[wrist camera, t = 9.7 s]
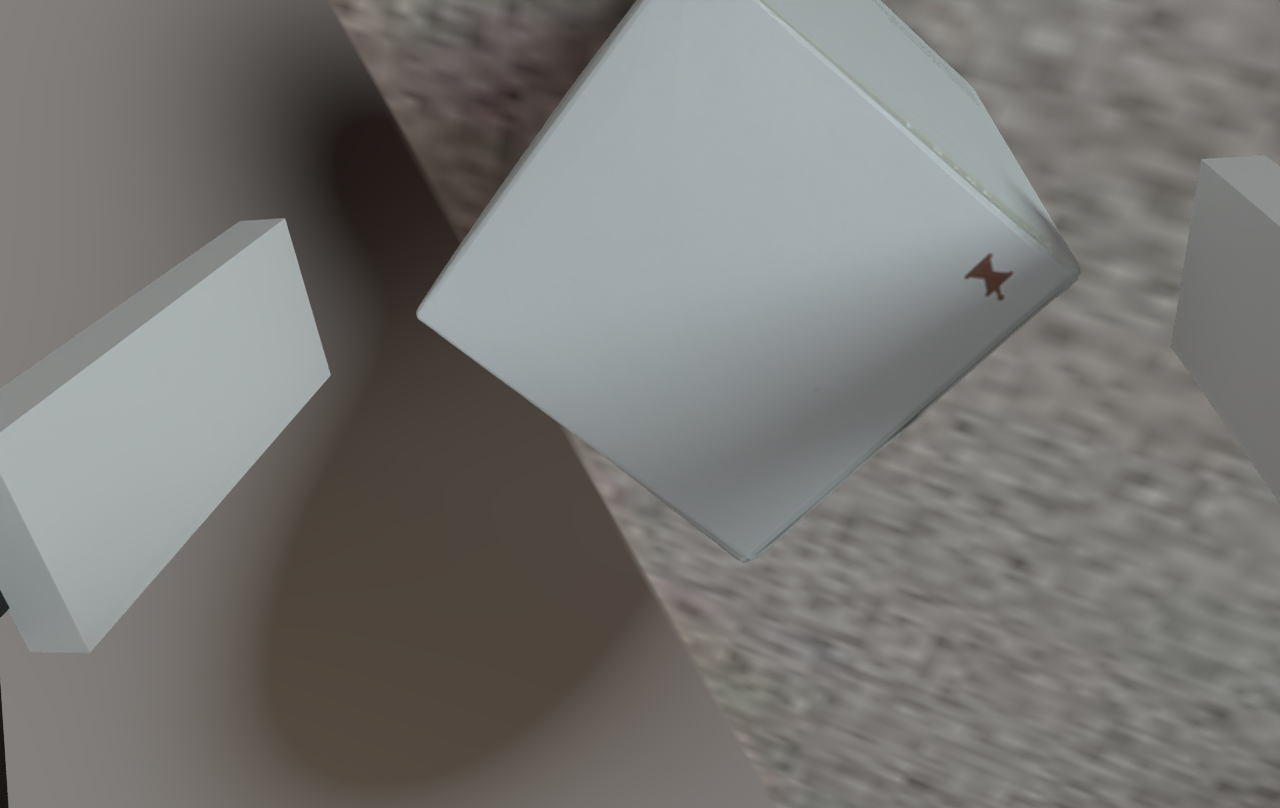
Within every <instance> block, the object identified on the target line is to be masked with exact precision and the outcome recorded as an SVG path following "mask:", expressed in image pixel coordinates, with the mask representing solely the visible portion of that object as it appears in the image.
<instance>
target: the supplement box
mask: <svg viewBox="0 0 1280 808" xmlns="http://www.w3.org/2000/svg"><path fill="white" fill-rule="evenodd" d="M1079 275H1080V267H1079V264H1078V262H1077V260H1076V258H1075V257H1074V255H1073V254H1072V252H1071V251H1070V249H1069V248H1068V246H1067V244H1066V243H1065V241H1064V239H1063V238H1062V236H1061V235H1060V233H1059V231H1058V229H1057V228H1056V226H1055V224H1054V223H1053V221H1052V219H1051V218H1050V216H1049V214H1048V213H1047V211H1046V209H1045V208H1044V206H1043V204H1042V203H1041V201H1040V199H1039V198H1038V196H1037V194H1036V193H1035V191H1034V189H1033V188H1032V186H1031V184H1030V183H1029V181H1028V179H1027V178H1026V176H1025V174H1024V172H1023V171H1022V169H1021V167H1020V166H1019V164H1018V162H1017V161H1016V159H1015V157H1014V156H1013V154H1012V152H1011V151H1010V149H1009V147H1008V146H1007V144H1006V142H1005V141H1004V139H1003V137H1002V136H1001V134H1000V132H999V131H998V129H997V127H996V126H995V124H994V122H993V120H992V119H991V117H990V115H989V114H988V112H987V110H986V109H985V107H984V105H983V104H982V102H981V100H980V98H979V97H978V95H977V93H976V92H975V90H974V89H973V87H972V86H971V85H970V84H969V83H968V82H967V81H966V80H965V79H964V78H962V77H961V76H960V75H959V74H958V73H957V72H956V71H955V70H954V69H953V68H952V67H951V66H950V65H949V64H947V63H946V62H945V61H944V60H943V59H942V58H941V57H940V56H939V55H938V54H937V53H936V52H935V51H934V50H932V49H931V48H930V47H929V46H928V45H927V44H926V43H925V42H924V41H923V40H922V39H921V38H920V37H919V36H918V35H917V34H916V33H915V32H913V31H912V30H911V29H910V28H909V27H908V26H907V25H906V24H905V23H904V22H903V21H902V20H901V19H900V18H899V17H898V16H896V15H895V14H894V13H893V12H892V11H891V10H890V9H889V8H888V7H887V6H886V5H885V4H884V3H883V2H882V1H881V0H636V2H635V3H634V4H633V6H632V7H631V8H630V9H629V11H628V12H627V13H626V15H625V16H624V17H623V19H622V20H621V21H620V23H619V24H618V25H617V26H616V28H615V29H614V30H613V32H612V33H611V34H610V36H609V37H608V38H607V39H606V41H605V42H604V43H603V45H602V46H601V47H600V49H599V50H598V51H597V53H596V54H595V55H594V57H593V58H592V59H591V61H590V62H589V63H588V65H587V66H586V67H585V69H584V70H583V71H582V73H581V74H580V75H579V77H578V78H577V80H576V81H575V82H574V84H573V85H572V86H571V88H570V89H569V90H568V92H567V93H566V94H565V96H564V97H563V98H562V100H561V101H560V102H559V104H558V105H557V107H556V108H555V109H554V111H553V112H552V114H551V115H550V116H549V118H548V119H547V121H546V122H545V124H544V125H543V126H542V128H541V129H540V131H539V132H538V133H537V135H536V136H535V138H534V139H533V140H532V142H531V143H530V145H529V146H528V147H527V149H526V150H525V152H524V153H523V155H522V156H521V157H520V159H519V160H518V162H517V163H516V165H515V166H514V167H513V169H512V170H511V172H510V173H509V175H508V176H507V177H506V179H505V180H504V182H503V183H502V185H501V186H500V187H499V189H498V190H497V192H496V193H495V195H494V196H493V197H492V199H491V200H490V202H489V203H488V205H487V206H486V207H485V209H484V210H483V212H482V213H481V215H480V216H479V218H478V219H477V220H476V222H475V223H474V225H473V226H472V228H471V229H470V231H469V232H468V234H467V235H466V237H465V238H464V239H463V241H462V242H461V244H460V245H459V247H458V248H457V250H456V251H455V253H454V254H453V256H452V257H451V259H450V260H449V262H448V263H447V265H446V266H445V267H444V269H443V271H442V272H441V273H440V275H439V276H438V278H437V279H436V281H435V283H434V284H433V286H432V287H431V289H430V290H429V291H428V293H427V294H426V296H425V297H424V299H423V300H422V302H421V304H420V305H419V307H418V309H417V311H416V315H417V318H418V319H419V320H420V321H421V322H423V323H424V324H426V325H427V326H428V327H430V328H431V329H433V330H434V331H435V332H437V333H438V334H439V335H441V336H442V337H443V338H445V339H446V340H448V341H449V342H450V343H451V344H453V345H454V346H455V347H457V348H458V349H460V350H461V351H462V352H463V353H465V354H466V355H468V356H469V357H471V358H472V359H473V360H474V361H476V362H477V363H478V364H480V365H481V366H482V367H484V368H485V369H486V370H488V371H489V372H491V373H492V374H493V375H494V376H496V377H497V378H499V379H500V380H501V381H503V382H504V383H505V384H507V385H508V386H509V387H511V388H512V389H514V390H515V391H517V392H518V393H519V394H520V395H522V396H523V397H525V398H526V399H527V400H529V401H530V402H531V403H533V404H534V405H535V406H537V407H538V408H539V409H541V410H542V411H543V412H545V413H546V414H547V415H549V416H550V417H551V418H553V419H554V420H555V421H557V422H558V423H560V424H561V425H562V426H564V427H565V428H566V429H568V430H569V431H570V432H572V433H573V434H574V435H576V436H577V437H579V438H580V439H581V440H583V441H584V442H585V443H587V444H588V445H589V446H591V447H592V448H594V449H595V450H596V451H598V452H599V453H601V454H602V455H603V456H605V457H606V458H607V459H609V460H610V461H611V462H612V463H614V464H615V465H616V466H617V467H619V468H620V469H621V470H623V471H624V472H625V473H626V474H628V475H629V476H630V477H632V478H633V479H634V480H635V481H637V482H638V483H639V484H641V485H642V486H643V487H644V488H646V489H647V490H648V491H650V492H651V493H652V494H653V495H655V496H656V497H657V498H659V499H660V500H661V501H662V502H664V503H665V504H666V505H667V506H669V507H670V508H671V509H673V510H674V511H675V512H676V513H678V514H679V515H680V516H682V517H683V518H684V519H686V520H687V521H688V522H689V523H691V524H692V525H693V526H695V527H696V528H697V529H699V530H700V531H701V532H703V533H704V534H705V535H706V536H708V537H709V538H710V539H712V540H713V541H714V542H716V543H717V544H718V545H719V546H721V547H722V548H723V549H724V550H726V551H727V552H728V553H729V554H731V555H732V556H733V557H734V558H736V559H738V560H740V561H742V562H748V561H750V560H753V559H755V558H757V557H759V556H760V555H761V554H763V553H764V552H765V551H766V550H767V549H768V548H769V547H770V546H771V545H773V544H774V543H775V542H776V541H777V540H779V539H780V538H781V537H782V536H783V535H785V534H786V533H787V532H788V531H789V530H790V529H791V528H792V527H793V526H795V525H796V524H797V523H798V522H799V521H800V520H801V519H802V518H803V517H804V516H805V515H807V514H808V513H809V512H810V511H811V510H812V509H814V508H815V507H816V506H817V505H818V504H819V503H821V502H822V501H823V500H824V499H825V498H826V497H827V496H829V495H830V494H831V493H832V492H833V491H834V490H836V489H837V488H838V487H839V486H840V485H841V484H842V483H844V482H845V481H846V480H847V479H848V478H849V477H850V476H851V475H853V474H854V473H855V472H856V471H857V470H858V469H859V468H861V467H862V466H863V465H864V464H865V463H866V462H867V461H869V460H870V459H871V458H872V457H873V456H874V455H876V454H877V453H878V452H879V451H880V450H882V449H883V448H884V447H885V446H886V445H888V444H889V443H890V442H891V441H893V440H894V439H895V438H896V437H898V436H900V435H901V434H902V433H903V432H904V431H905V430H906V429H907V428H909V427H910V426H911V425H912V424H913V423H915V422H916V421H917V420H918V419H919V418H920V417H921V416H922V415H923V414H924V412H925V411H926V410H927V409H928V408H930V407H931V406H932V405H933V404H934V403H935V402H936V401H937V400H938V399H940V398H941V397H942V396H943V395H944V394H945V393H947V392H948V391H949V390H950V389H951V388H952V387H954V386H955V385H956V384H957V383H958V382H959V381H960V380H961V379H963V378H964V377H965V376H966V375H967V374H968V373H969V372H971V371H972V370H973V369H974V368H975V367H976V366H977V365H979V364H980V363H981V362H982V361H983V360H984V359H985V358H987V357H988V356H989V355H990V354H991V353H992V352H993V351H995V350H996V349H997V348H998V347H999V346H1000V345H1002V344H1003V343H1004V342H1005V341H1006V340H1007V339H1008V338H1010V337H1011V336H1012V335H1013V334H1014V333H1015V332H1017V331H1018V330H1019V329H1020V328H1021V327H1022V326H1023V325H1025V324H1026V323H1027V322H1028V321H1029V320H1030V319H1031V318H1033V317H1034V316H1035V315H1036V314H1037V313H1038V312H1040V311H1041V310H1042V309H1043V308H1044V307H1045V306H1047V305H1048V304H1049V303H1050V302H1051V301H1052V300H1054V299H1055V298H1056V297H1058V296H1059V295H1060V294H1062V293H1063V292H1064V291H1066V290H1067V289H1068V288H1069V287H1070V286H1071V285H1072V284H1073V283H1074V282H1075V281H1076V280H1077V279H1078V277H1079Z"/></svg>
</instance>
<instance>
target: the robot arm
mask: <svg viewBox="0 0 1280 808" xmlns="http://www.w3.org/2000/svg"><path fill="white" fill-rule="evenodd" d="M1171 347H1172V349H1173V350H1174V352H1175V353H1176V354H1177V356H1178V357H1179V359H1180V360H1181V362H1182V363H1183V365H1184V366H1185V367H1186V369H1187V370H1188V372H1189V373H1190V375H1191V376H1192V378H1193V379H1194V380H1195V382H1196V383H1197V385H1198V386H1199V388H1200V389H1201V390H1202V392H1203V393H1204V395H1205V396H1206V398H1207V399H1208V401H1209V402H1210V403H1211V405H1212V406H1213V408H1214V409H1215V411H1216V412H1217V413H1218V415H1219V416H1220V418H1221V419H1222V421H1223V422H1224V424H1225V425H1226V426H1227V428H1228V429H1229V431H1230V432H1231V434H1232V435H1233V436H1234V438H1235V439H1236V441H1237V442H1238V444H1239V445H1240V447H1241V448H1242V449H1243V451H1244V452H1245V454H1246V455H1247V457H1248V458H1249V459H1250V461H1251V462H1252V464H1253V465H1254V467H1255V468H1256V470H1257V471H1258V472H1259V474H1260V475H1261V477H1262V478H1263V480H1264V481H1265V483H1266V484H1267V485H1268V487H1269V488H1270V490H1271V491H1272V493H1273V494H1274V495H1275V497H1276V498H1277V500H1278V501H1279V503H1280V166H1279V165H1277V164H1276V163H1275V162H1273V161H1272V160H1270V159H1269V158H1268V157H1266V156H1265V155H1260V156H1245V157H1229V158H1214V159H1201V163H1200V169H1199V175H1198V181H1197V188H1196V194H1195V200H1194V207H1193V213H1192V219H1191V225H1190V232H1189V238H1188V244H1187V251H1186V257H1185V263H1184V269H1183V276H1182V282H1181V288H1180V295H1179V301H1178V307H1177V313H1176V320H1175V326H1174V332H1173V338H1172V345H1171ZM330 376H331V374H330V371H329V367H328V364H327V360H326V357H325V353H324V350H323V347H322V344H321V340H320V337H319V333H318V330H317V326H316V323H315V319H314V316H313V312H312V309H311V306H310V302H309V299H308V295H307V292H306V289H305V285H304V282H303V278H302V275H301V272H300V268H299V265H298V261H297V258H296V254H295V251H294V248H293V244H292V241H291V237H290V234H289V230H288V227H287V224H286V220H285V218H281V219H265V220H250V221H239V222H238V223H237V224H235V225H234V226H232V227H231V228H229V229H228V230H226V231H225V232H224V233H222V234H221V235H219V236H218V237H216V238H215V239H214V240H212V241H211V242H209V243H208V244H206V245H205V246H204V247H202V248H201V249H199V250H198V251H197V252H195V253H194V254H192V255H191V256H190V257H188V258H186V259H185V260H183V261H182V262H181V263H179V264H178V265H176V266H175V267H173V268H172V269H171V270H169V271H168V272H166V273H165V274H163V275H162V276H161V277H159V278H158V279H156V280H155V281H153V282H152V283H151V284H149V285H148V286H146V287H145V288H143V289H142V290H140V291H139V292H138V293H136V294H135V295H133V296H132V297H130V298H129V299H128V300H126V301H125V302H123V303H122V304H120V305H119V306H118V307H116V308H115V309H113V310H112V311H110V312H109V313H107V314H106V315H105V316H104V317H102V318H101V319H99V320H97V321H96V322H95V323H93V324H92V325H90V326H89V327H87V328H86V329H85V330H83V331H82V332H80V333H79V334H77V335H76V336H75V337H73V338H72V339H70V340H69V341H67V342H66V343H64V344H63V345H62V346H60V347H59V348H57V349H56V350H54V351H53V352H52V353H50V354H49V355H47V356H46V357H44V358H43V359H42V360H40V361H39V362H37V363H36V364H34V365H33V366H32V367H30V368H29V369H27V370H26V371H24V372H23V373H21V374H20V375H19V376H17V377H16V378H14V379H13V380H11V381H10V382H9V383H7V384H6V385H4V386H3V387H2V388H0V617H1V616H2V615H3V614H4V613H5V612H6V611H7V610H8V612H9V614H10V616H11V618H12V620H13V621H14V623H15V625H16V627H17V629H18V631H19V633H20V635H21V636H22V638H23V640H24V642H25V644H26V646H27V647H28V650H29V651H30V652H55V653H90V652H91V651H92V650H93V649H94V648H95V646H96V645H97V644H98V643H99V642H100V641H101V640H102V638H103V637H104V636H105V635H106V634H107V632H109V630H110V629H111V628H112V627H113V626H114V625H115V624H116V622H117V621H118V620H119V619H120V618H121V617H122V615H123V614H124V613H125V612H126V611H127V610H128V609H129V607H130V606H131V605H132V604H133V603H134V602H135V600H136V599H137V598H138V597H139V596H140V595H141V594H142V592H143V591H144V590H145V589H146V588H147V587H148V585H149V584H150V583H151V582H152V581H153V580H154V579H155V577H156V576H157V575H158V574H159V573H160V571H161V570H162V569H163V568H164V567H165V566H166V565H167V564H168V562H169V561H170V560H171V559H172V558H173V556H174V555H175V554H176V553H177V552H178V551H179V550H180V549H181V547H182V546H183V545H184V544H185V543H186V542H187V540H188V539H189V538H190V537H191V536H192V535H193V533H194V532H195V531H196V530H197V529H198V528H199V527H200V525H201V524H202V523H203V522H204V521H205V520H206V518H207V517H208V516H209V515H210V514H211V512H213V510H214V509H215V508H216V507H217V506H218V505H219V504H220V502H221V501H222V500H223V499H224V498H225V496H226V495H227V494H228V493H229V492H230V491H231V490H232V489H233V487H234V486H235V485H236V484H237V483H238V482H239V480H240V479H241V478H242V477H243V476H244V475H245V474H246V472H247V471H248V470H249V469H250V468H251V467H252V465H253V464H254V463H255V462H256V461H257V460H258V459H259V457H260V456H261V455H262V454H263V453H264V451H266V449H267V448H268V447H269V446H270V445H271V444H272V442H273V441H274V440H275V439H276V438H277V437H278V436H279V434H280V433H281V432H282V431H283V430H284V428H285V427H286V426H287V425H288V424H289V423H290V422H291V420H292V419H293V418H294V417H295V416H296V415H297V414H298V412H299V411H300V410H301V409H302V408H303V407H304V406H305V404H306V403H307V402H308V401H309V400H310V398H311V397H312V396H313V395H314V394H315V393H316V392H317V391H318V389H319V388H320V387H321V386H322V385H323V383H324V382H325V381H326V380H327V379H328V378H329V377H330ZM6 779H7V778H6V763H5V747H4V733H3V717H2V702H1V686H0V808H8V793H7V780H6Z"/></svg>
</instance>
